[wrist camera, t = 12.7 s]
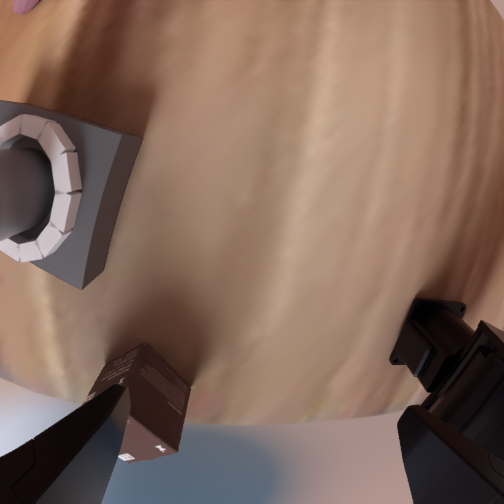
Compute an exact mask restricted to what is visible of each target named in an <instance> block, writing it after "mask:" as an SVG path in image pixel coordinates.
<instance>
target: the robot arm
mask: <svg viewBox="0 0 504 504" xmlns="http://www.w3.org/2000/svg"><path fill="white" fill-rule="evenodd" d="M419 303H420V304H419ZM418 304H419V305H418ZM417 305H418V306H417ZM465 310H466V305H465V304H464V303H463V302H454V301H444V300H435V299H425V298H417V299H415V300H414V302H413V304H412V306H411V309H410V312H409V314H408V317H407V319H406V322H405V324H404V327H403V329H402V331H401V334H400V336H399V338H398V341H397V343H396V345H395V348H394V350H393V352H392V354H391V356H390V359H389V361H390V363H391V364H392V365H407V367H408V368H409V370H410V371H411V373H412V374H413V376H414V377H417V378H418V379H419V381H420V382H421V384H422V385H423V387H424V388H425V390H426V391H427V392H428V393H429V392H431V393H430V395H429V396H428V397H427V398H426V399H425V400H424V402H423V403H422V404H421V405H410V406H408V407H407V408H406V410H405V411H404V413H403V414H402V416H401V417H400V419H399V421H398V423H397V429H398V435H399V440H400V446H401V452H402V458H403V463H404V467H405V471H406V475H407V479H408V482H409V487H410V491H411V495H412V499H413V504H504V332H503V331H501V330H500V329H498V328H496V327H494V326H492V325H490V324H489V323H487V322H485V321H483V320H481V321H480V323H479V324H478V328H477V330H476V331H474V330H473V329H472V328H471V327H470V326H468V325H467V324H466V323H465V322H464V321H463V320H462V317H463V315H464V313H465ZM394 359H395V360H394ZM130 408H131V403H130V396H129V389H128V387H127V386H126V385H122V384H118V383H114V384H112V385H111V386H109V387H108V388H106V389H105V390H103V391H102V392H101V393H99V394H98V395H96V396H95V397H93V398H92V399H90V400H89V401H88V402H86V403H85V404H83V405H82V406H80V407H79V408H77V409H76V410H75V411H73V412H71V413H70V414H69V415H67V416H66V417H64V418H63V419H61V420H60V421H58V422H57V423H55V424H54V425H52V426H51V427H49V428H48V429H46V430H45V431H43V432H42V433H40V434H39V435H37V436H36V437H34V440H33V439H31V440H29V441H28V442H26V443H25V444H23V445H21V446H20V447H18V448H17V449H15V450H13V451H11V452H9V453H7V454H5V455H4V456H1V457H0V504H101V502H102V500H103V497H104V494H105V491H106V488H107V485H108V483H109V480H110V477H111V474H112V472H113V469H114V466H115V464H116V461H117V458H118V456H119V453H120V449H121V445H122V441H123V437H124V433H125V429H126V425H127V421H128V417H129V413H130Z"/></svg>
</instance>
